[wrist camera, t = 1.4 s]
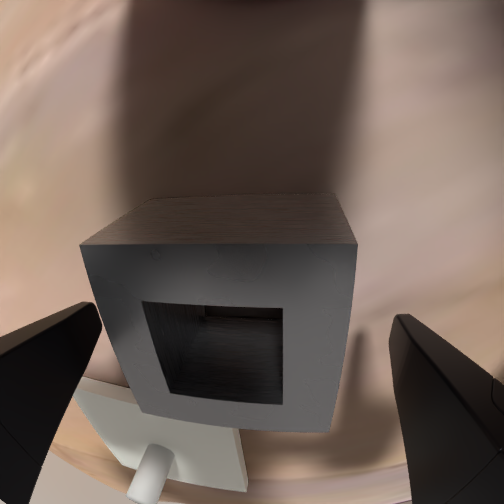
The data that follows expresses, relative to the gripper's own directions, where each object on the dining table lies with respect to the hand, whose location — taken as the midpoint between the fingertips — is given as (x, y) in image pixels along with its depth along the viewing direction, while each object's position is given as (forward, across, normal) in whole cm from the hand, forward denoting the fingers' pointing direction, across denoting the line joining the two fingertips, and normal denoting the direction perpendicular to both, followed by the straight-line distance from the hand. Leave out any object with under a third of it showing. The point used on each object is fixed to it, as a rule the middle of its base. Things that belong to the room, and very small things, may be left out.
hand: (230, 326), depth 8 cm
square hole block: (+3, 0, 0) cm, 3 cm away
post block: (+3, +6, +12) cm, 14 cm away
